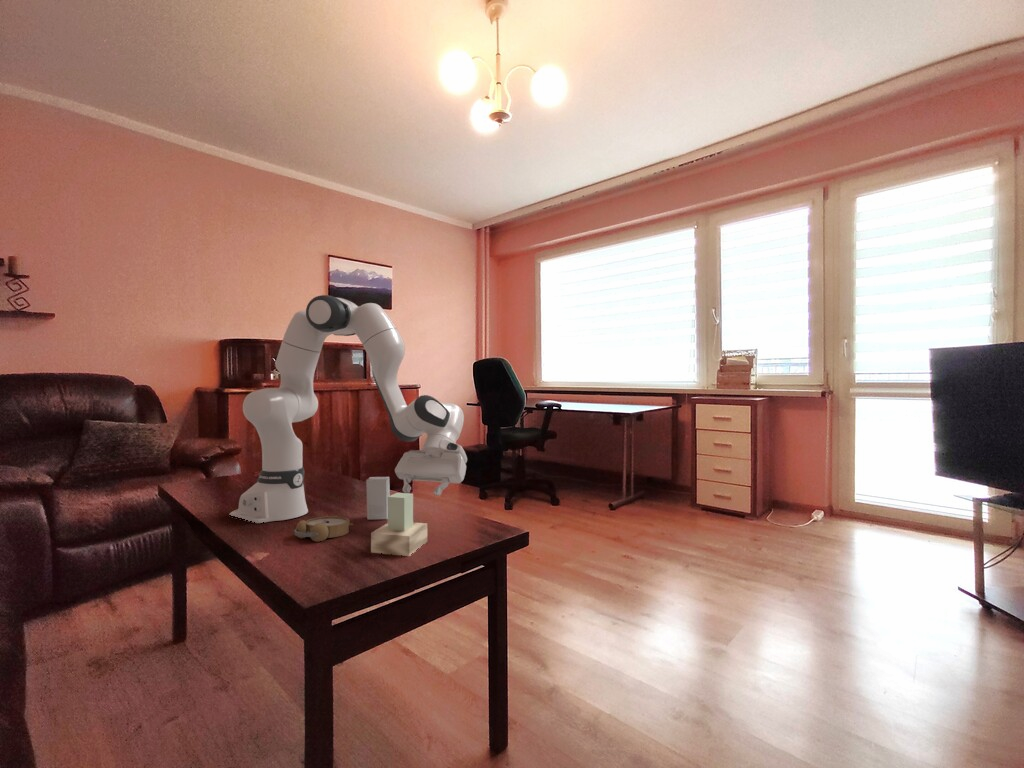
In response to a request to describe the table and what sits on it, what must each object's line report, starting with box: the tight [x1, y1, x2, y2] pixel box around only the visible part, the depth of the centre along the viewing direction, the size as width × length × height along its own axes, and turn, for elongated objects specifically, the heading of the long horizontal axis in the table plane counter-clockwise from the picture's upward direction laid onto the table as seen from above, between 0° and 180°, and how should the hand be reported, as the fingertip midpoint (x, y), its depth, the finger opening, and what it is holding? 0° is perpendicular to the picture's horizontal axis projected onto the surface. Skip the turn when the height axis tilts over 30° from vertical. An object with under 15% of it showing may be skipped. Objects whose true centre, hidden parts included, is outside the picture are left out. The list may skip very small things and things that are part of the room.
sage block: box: [387, 492, 414, 531], centre depth 110 cm, size 4×4×8 cm
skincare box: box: [365, 476, 391, 521], centre depth 134 cm, size 6×4×12 cm
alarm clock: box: [293, 515, 354, 543], centre depth 118 cm, size 11×5×15 cm
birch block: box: [370, 521, 428, 557], centre depth 110 cm, size 10×10×5 cm
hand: (421, 492), depth 120 cm, fingers open, 8 cm apart
